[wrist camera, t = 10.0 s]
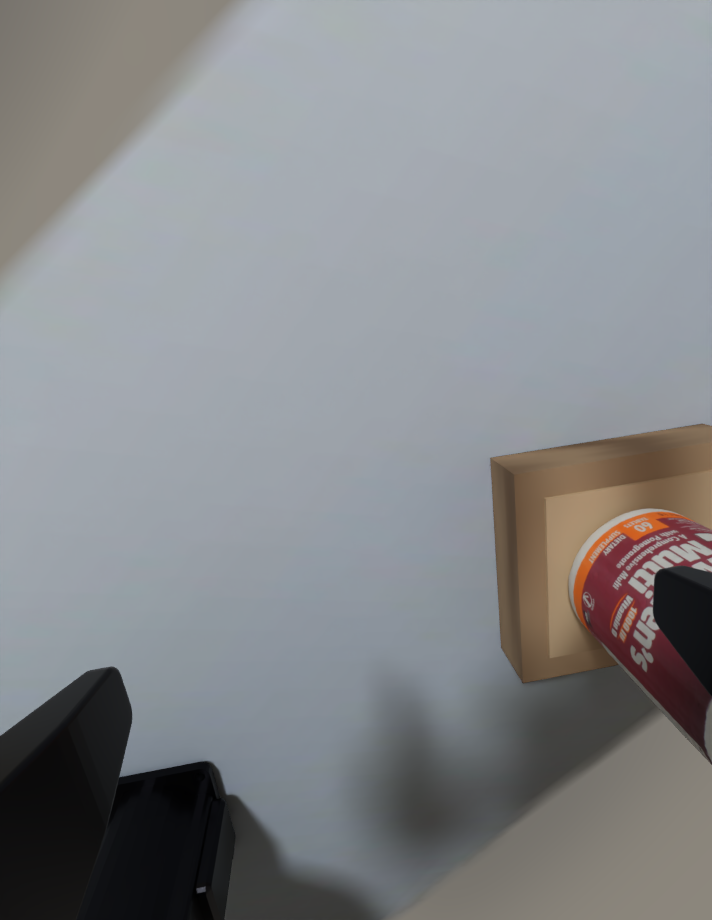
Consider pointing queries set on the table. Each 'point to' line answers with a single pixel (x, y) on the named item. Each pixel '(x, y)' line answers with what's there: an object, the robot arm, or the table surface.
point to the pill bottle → (644, 608)
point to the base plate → (580, 531)
